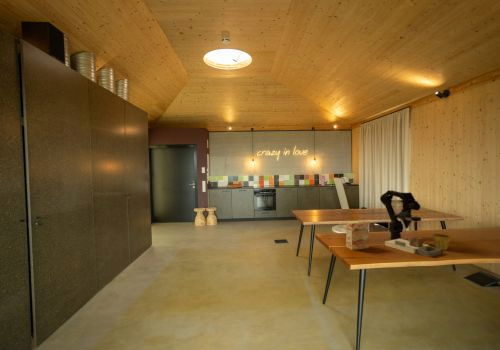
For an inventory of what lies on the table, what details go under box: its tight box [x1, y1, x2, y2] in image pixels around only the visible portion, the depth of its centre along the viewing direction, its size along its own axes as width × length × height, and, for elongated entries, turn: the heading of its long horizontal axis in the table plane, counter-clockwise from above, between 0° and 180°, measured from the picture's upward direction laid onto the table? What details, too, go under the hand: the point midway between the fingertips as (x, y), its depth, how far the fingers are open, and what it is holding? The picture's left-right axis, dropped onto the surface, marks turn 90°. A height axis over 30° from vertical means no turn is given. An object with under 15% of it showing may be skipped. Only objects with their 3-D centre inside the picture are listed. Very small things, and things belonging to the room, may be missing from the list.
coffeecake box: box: [345, 220, 370, 251], centre depth 194 cm, size 15×7×20 cm, turn 105°
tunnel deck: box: [384, 238, 443, 258], centre depth 189 cm, size 32×18×6 cm, turn 27°
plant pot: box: [432, 233, 452, 251], centre depth 189 cm, size 10×10×10 cm
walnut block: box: [408, 235, 424, 248], centre depth 187 cm, size 6×6×6 cm
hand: (406, 228), depth 203 cm, fingers closed
